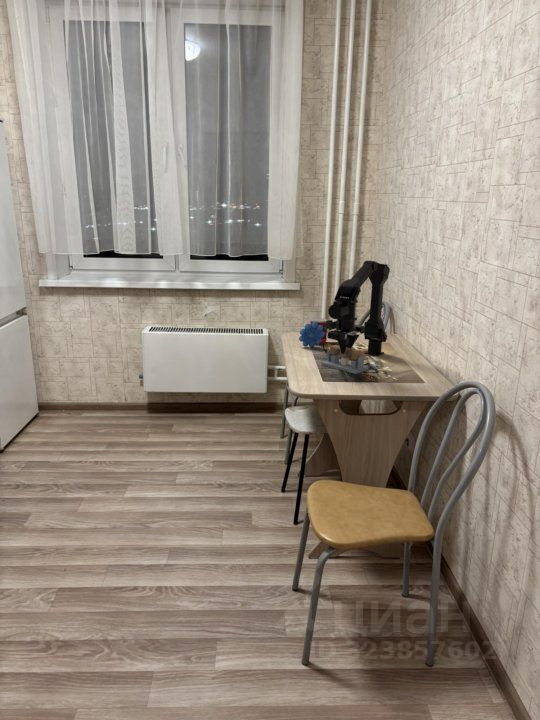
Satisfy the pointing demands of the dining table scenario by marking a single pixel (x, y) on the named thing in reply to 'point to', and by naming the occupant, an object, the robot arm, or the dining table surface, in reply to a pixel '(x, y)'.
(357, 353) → the brown rectangular block
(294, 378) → the dining table surface
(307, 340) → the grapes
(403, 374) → the dining table surface
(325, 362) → the display cradle
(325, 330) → the canned food
